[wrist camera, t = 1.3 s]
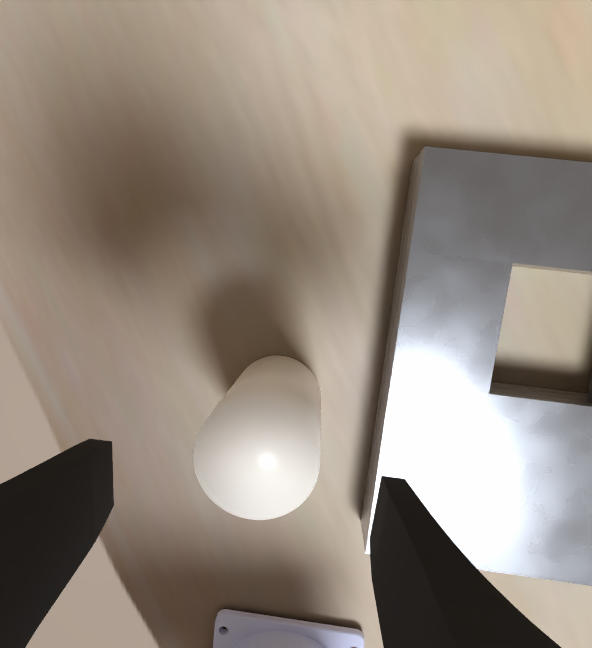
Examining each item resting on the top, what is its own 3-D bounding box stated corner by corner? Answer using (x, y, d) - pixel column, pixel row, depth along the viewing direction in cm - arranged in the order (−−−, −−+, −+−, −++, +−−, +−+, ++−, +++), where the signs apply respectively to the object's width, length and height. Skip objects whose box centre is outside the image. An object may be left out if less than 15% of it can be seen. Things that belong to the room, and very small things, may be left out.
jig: (638, 560, 22) (679, 598, 19) (360, 521, 22) (365, 553, 20) (729, 192, 19) (790, 181, 16) (412, 161, 20) (425, 146, 17)
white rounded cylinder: (315, 444, 22) (312, 528, 15) (230, 433, 22) (188, 510, 15) (326, 361, 21) (327, 407, 14) (238, 350, 21) (198, 391, 14)
